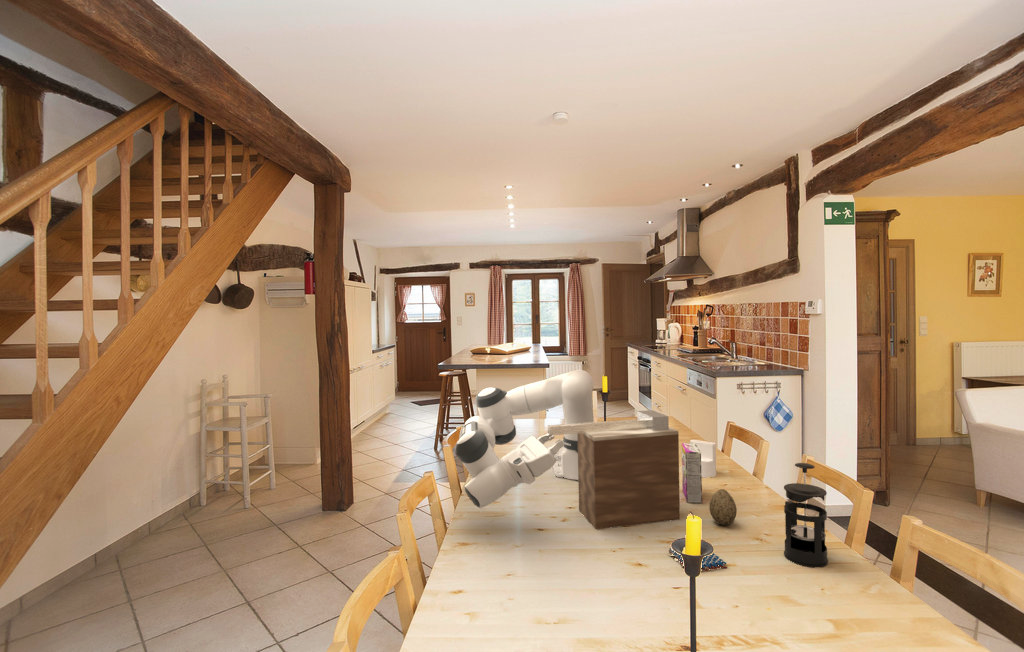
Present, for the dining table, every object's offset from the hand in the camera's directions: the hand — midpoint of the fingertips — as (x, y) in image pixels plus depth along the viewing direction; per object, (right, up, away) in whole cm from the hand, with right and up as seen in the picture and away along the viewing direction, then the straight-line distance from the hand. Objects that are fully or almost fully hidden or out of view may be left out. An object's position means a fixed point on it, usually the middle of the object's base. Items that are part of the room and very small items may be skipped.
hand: (557, 438), depth 145 cm
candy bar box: (+45, -24, +19) cm, 55 cm away
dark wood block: (+22, -24, +6) cm, 33 cm away
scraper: (+15, +2, +4) cm, 15 cm away
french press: (+58, -24, -22) cm, 67 cm away
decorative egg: (+47, -24, -2) cm, 53 cm away
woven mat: (+32, -25, -23) cm, 47 cm away
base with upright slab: (+58, -23, +42) cm, 75 cm away
